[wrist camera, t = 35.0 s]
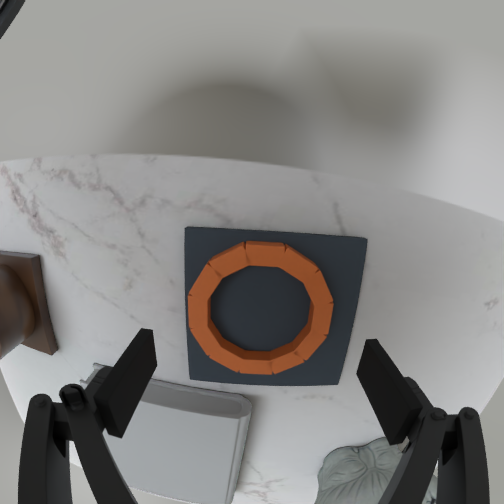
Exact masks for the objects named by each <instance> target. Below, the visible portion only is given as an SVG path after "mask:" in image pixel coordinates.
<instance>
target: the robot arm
mask: <svg viewBox="0 0 504 504" xmlns="http://www.w3.org/2000/svg"><path fill="white" fill-rule="evenodd" d="M7 2H8V0H0V14H1V12H2V11H3V9H4V7H5V6H6V4H7ZM156 367H157V360H156V352H155V345H154V337H153V330H151V329H143V328H141V329H140V331H139V332H138V333H137V335H136V336H135V338H134V339H133V340H132V342H131V343H130V344H129V346H128V347H127V349H126V350H125V351H124V353H123V354H122V356H121V357H120V358H119V360H118V361H117V363H116V364H115V365H114V367H110V366H104V367H103V368H101V369H100V370H99V371H98V372H97V373H96V375H95V377H93V379H92V380H91V381H90V383H89V384H88V385H87V387H86V388H85V389H83V387H82V386H80V385H78V384H68V385H65V386H64V387H62V388H61V390H60V391H59V396H60V398H61V400H62V403H56V402H52V400H51V398H50V396H48V395H46V394H37V395H35V396H33V397H32V398H31V400H30V402H29V407H28V412H27V417H26V422H25V428H24V433H23V440H22V448H21V456H20V466H19V482H18V504H73V503H72V494H71V483H70V464H69V441H74V444H75V447H76V450H77V453H78V456H79V459H80V462H81V465H82V467H83V470H84V472H85V475H86V478H87V480H88V483H89V485H90V488H91V490H92V492H93V494H94V497H95V499H96V501H97V503H98V504H138V503H137V501H136V499H135V498H134V496H133V494H132V493H131V491H130V489H129V487H128V485H127V484H126V482H125V480H124V478H123V476H122V474H121V472H120V470H119V468H118V466H117V464H116V462H115V460H114V458H113V456H112V454H111V452H110V450H109V447H108V445H107V443H106V441H105V438H104V436H103V434H102V433H103V431H104V429H105V428H106V431H107V433H108V435H111V436H114V437H117V438H121V439H122V437H123V435H124V433H125V431H126V429H127V427H128V425H129V423H130V420H131V418H132V416H133V414H134V412H135V410H136V408H137V406H138V404H139V402H140V400H141V398H142V395H143V393H144V391H145V389H146V387H147V385H148V383H149V381H150V379H151V377H152V375H153V373H154V371H155V369H156ZM356 374H357V376H358V378H359V381H360V383H361V385H362V387H363V389H364V391H365V393H366V395H367V397H368V399H369V401H370V403H371V406H372V408H373V410H374V412H375V414H376V416H377V418H378V421H379V423H380V425H381V427H382V429H383V432H384V434H385V436H386V438H387V440H388V443H389V445H390V446H392V445H396V444H400V443H403V441H404V440H405V438H406V436H407V437H408V439H409V442H408V444H407V445H406V447H405V448H404V450H403V451H402V453H403V455H402V457H401V459H400V461H399V464H398V466H397V468H396V470H395V472H394V474H393V476H392V478H391V480H390V482H389V484H388V486H387V488H386V490H385V491H384V493H383V495H382V497H381V499H380V500H379V502H378V504H422V502H423V500H424V497H425V495H426V492H427V489H428V487H429V484H430V481H431V478H432V476H433V472H434V470H435V466H436V463H437V460H438V480H437V494H436V504H490V499H489V479H488V468H487V459H486V452H485V445H484V439H483V434H482V429H481V424H480V419H479V415H478V412H477V411H476V410H475V409H473V408H470V407H464V408H462V409H461V410H460V412H459V414H456V415H447V413H446V412H445V411H444V410H443V409H441V408H436V407H433V406H432V404H431V403H430V401H429V400H428V398H427V397H426V396H425V394H424V393H423V391H422V390H421V389H420V388H419V386H418V384H417V383H416V382H415V381H414V380H413V379H411V378H410V377H403V376H402V374H401V373H400V371H399V370H398V368H397V367H396V365H395V364H394V363H393V361H392V360H391V358H390V357H389V355H388V354H387V353H386V351H385V350H384V348H383V347H382V346H381V344H380V343H379V342H378V340H377V339H366V341H365V345H364V349H363V352H362V356H361V359H360V363H359V366H358V369H357V373H356Z"/></svg>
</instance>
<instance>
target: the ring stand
mask: <svg viewBox="0 0 504 504" xmlns="http://www.w3.org/2000/svg"><path fill="white" fill-rule="evenodd" d="M19 344H23V345H25V346H28V347H30V348H33V349H36V350H38V351H41V352H44V353H47V354H49V355H53V354H54V353H55V352H56V351H57V350H58V348H57V344H56V341H55V337H54V333H53V329H52V325H51V321H50V317H49V312H48V307H47V302H46V297H45V292H44V286H43V280H42V273H41V266H40V258H39V255H35V254H25V253H16V252H7V251H0V359H2V358H3V357H4V356H5V355H7V354H8V353H9V352H10V351H12V350H13V349H14V348H15V347H16V346H18V345H19Z"/></svg>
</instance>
